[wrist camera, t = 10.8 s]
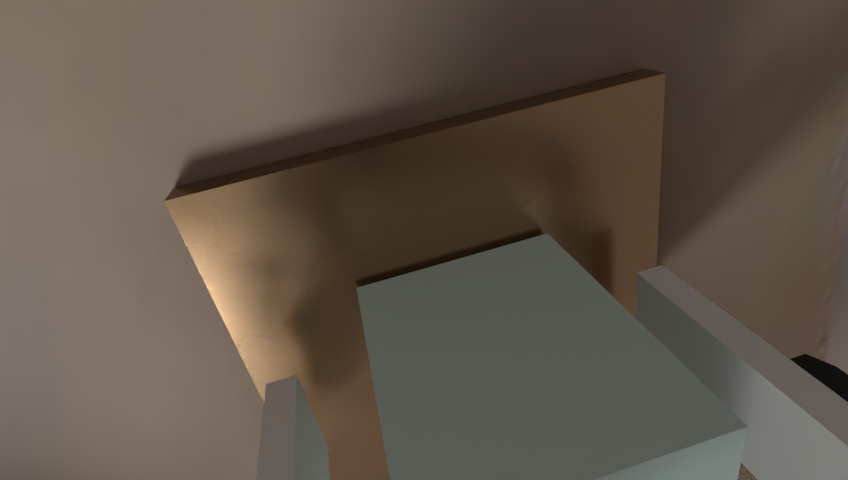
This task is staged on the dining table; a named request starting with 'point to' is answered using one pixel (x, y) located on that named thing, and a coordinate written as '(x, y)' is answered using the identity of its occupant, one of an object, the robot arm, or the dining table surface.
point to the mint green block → (533, 378)
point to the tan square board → (419, 231)
